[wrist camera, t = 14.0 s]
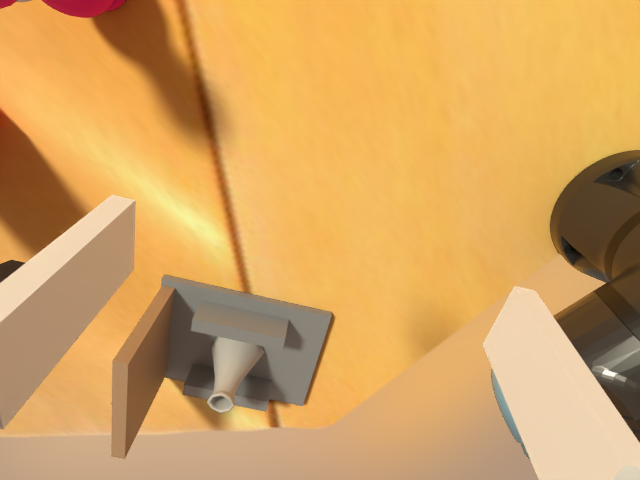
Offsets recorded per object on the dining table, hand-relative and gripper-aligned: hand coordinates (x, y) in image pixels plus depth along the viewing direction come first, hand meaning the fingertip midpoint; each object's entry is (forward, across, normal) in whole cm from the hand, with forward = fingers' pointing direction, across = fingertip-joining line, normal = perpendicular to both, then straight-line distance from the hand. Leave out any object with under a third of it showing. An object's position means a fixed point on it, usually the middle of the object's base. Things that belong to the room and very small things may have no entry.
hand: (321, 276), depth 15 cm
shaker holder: (+35, +5, +36) cm, 51 cm away
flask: (+34, +5, +36) cm, 50 cm away
